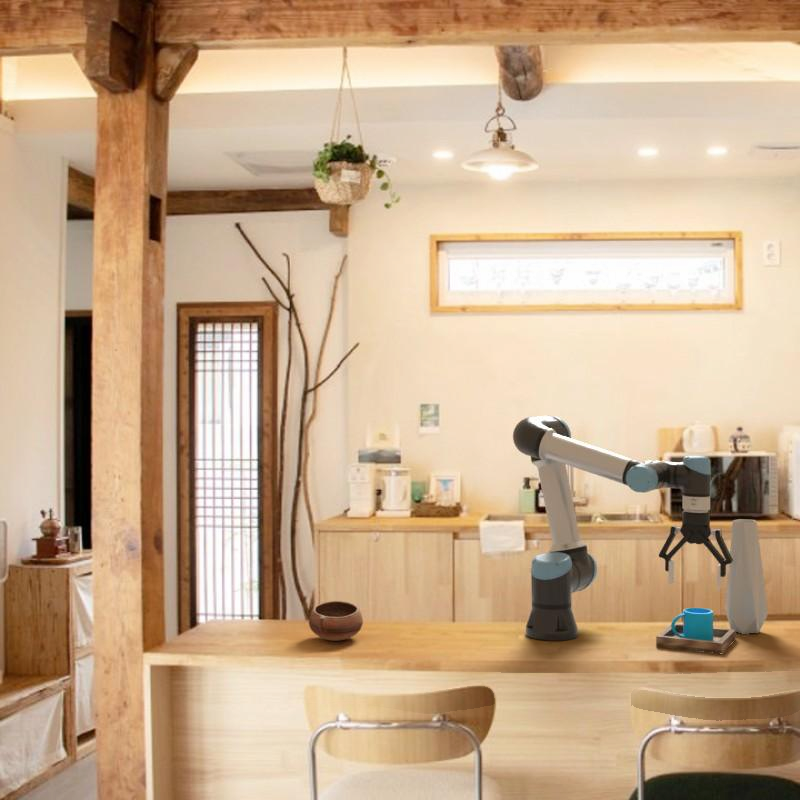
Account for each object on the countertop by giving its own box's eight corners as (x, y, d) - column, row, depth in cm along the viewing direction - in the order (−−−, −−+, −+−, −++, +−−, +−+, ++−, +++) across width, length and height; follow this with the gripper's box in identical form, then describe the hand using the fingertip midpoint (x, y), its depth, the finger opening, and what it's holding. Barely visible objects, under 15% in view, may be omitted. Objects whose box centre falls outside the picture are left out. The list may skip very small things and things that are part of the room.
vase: (771, 637, 307) (771, 523, 307) (730, 636, 309) (729, 523, 309) (764, 627, 319) (763, 518, 319) (724, 626, 321) (723, 517, 321)
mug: (706, 635, 306) (706, 607, 306) (717, 642, 298) (717, 613, 297) (666, 636, 304) (665, 608, 304) (676, 643, 296) (676, 614, 296)
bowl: (312, 647, 300) (312, 612, 300) (306, 634, 315) (305, 601, 315) (367, 644, 303) (367, 609, 303) (358, 631, 318) (357, 598, 318)
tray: (656, 646, 297) (656, 636, 297) (672, 633, 313) (672, 623, 313) (722, 654, 288) (722, 643, 288) (735, 640, 304) (735, 629, 304)
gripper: (648, 509, 303) (647, 583, 303) (738, 515, 291) (737, 592, 291) (655, 506, 309) (654, 578, 310) (744, 512, 297) (742, 587, 298)
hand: (694, 585), depth 301 cm, fingers open, 13 cm apart
